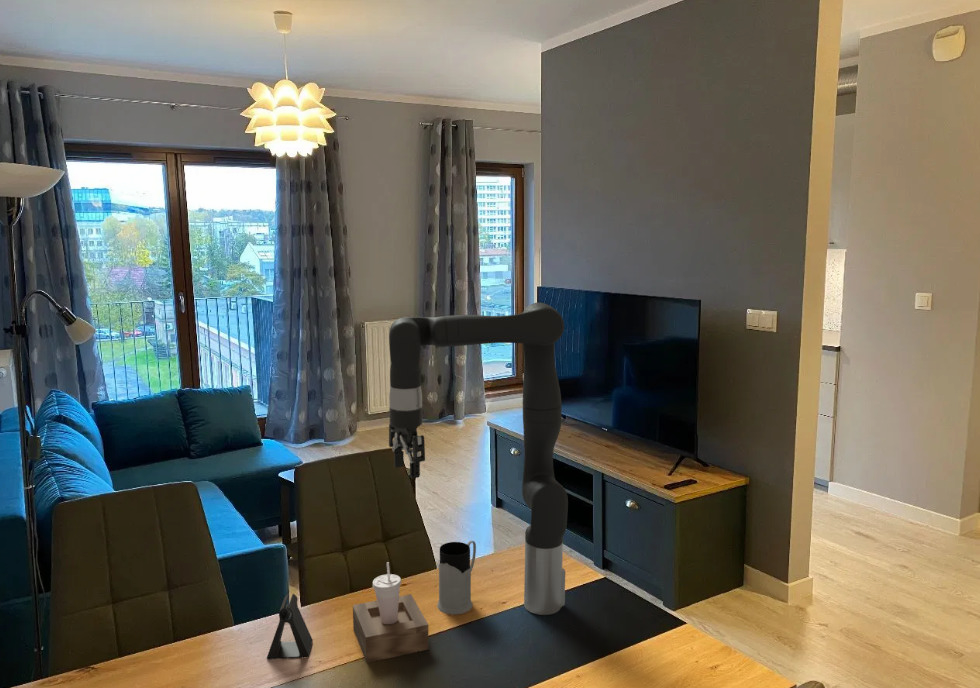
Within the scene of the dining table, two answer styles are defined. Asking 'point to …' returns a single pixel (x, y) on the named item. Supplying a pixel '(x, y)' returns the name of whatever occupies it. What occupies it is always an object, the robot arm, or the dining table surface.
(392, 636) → the walnut tray
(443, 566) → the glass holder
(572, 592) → the dining table surface
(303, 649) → the phone stand
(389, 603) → the smoothie
